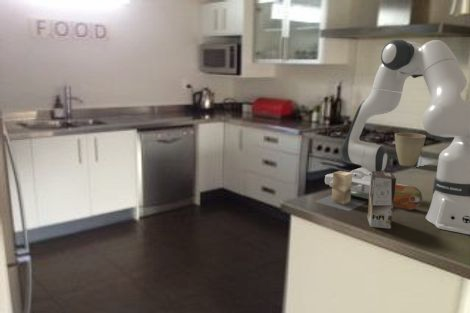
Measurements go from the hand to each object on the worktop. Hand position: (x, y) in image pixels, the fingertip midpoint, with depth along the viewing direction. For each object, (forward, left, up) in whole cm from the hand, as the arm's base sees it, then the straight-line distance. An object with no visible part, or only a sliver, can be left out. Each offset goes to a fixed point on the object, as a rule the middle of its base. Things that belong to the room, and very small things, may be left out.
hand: (341, 187), depth 150 cm
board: (-1, -17, -6) cm, 18 cm away
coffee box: (-19, +10, -6) cm, 22 cm away
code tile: (0, 0, -6) cm, 6 cm away
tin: (-17, -11, -6) cm, 21 cm away
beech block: (0, 0, -6) cm, 6 cm away
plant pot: (+7, -83, -6) cm, 84 cm away
